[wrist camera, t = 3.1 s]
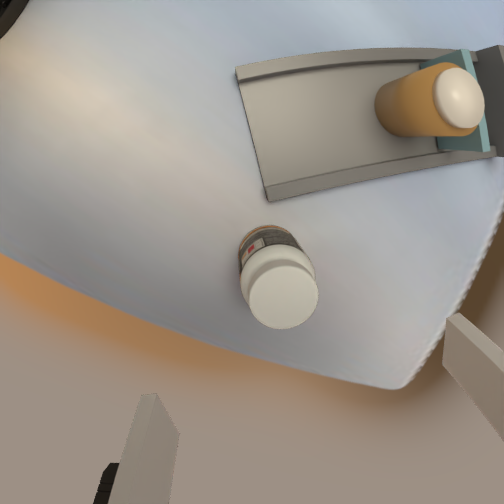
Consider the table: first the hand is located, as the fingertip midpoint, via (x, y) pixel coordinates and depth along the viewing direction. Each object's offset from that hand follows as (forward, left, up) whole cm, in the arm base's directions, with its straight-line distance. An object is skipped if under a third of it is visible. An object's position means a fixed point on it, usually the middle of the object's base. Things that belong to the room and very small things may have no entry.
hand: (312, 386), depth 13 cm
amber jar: (+15, +11, -18) cm, 26 cm away
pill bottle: (0, 0, -19) cm, 19 cm away
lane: (+14, +11, -19) cm, 26 cm away
